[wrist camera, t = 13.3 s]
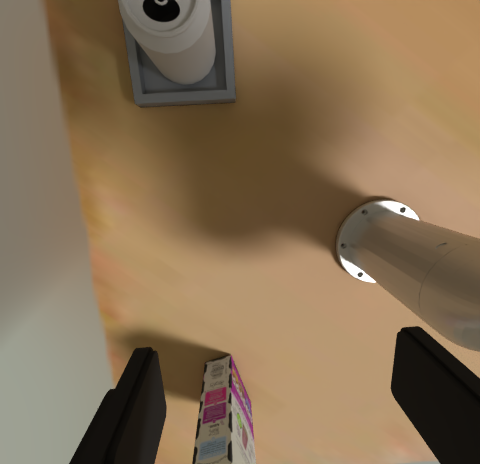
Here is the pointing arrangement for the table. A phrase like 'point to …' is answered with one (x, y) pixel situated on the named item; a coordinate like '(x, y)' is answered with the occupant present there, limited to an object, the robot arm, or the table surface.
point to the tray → (202, 92)
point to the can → (173, 35)
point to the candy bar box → (224, 417)
